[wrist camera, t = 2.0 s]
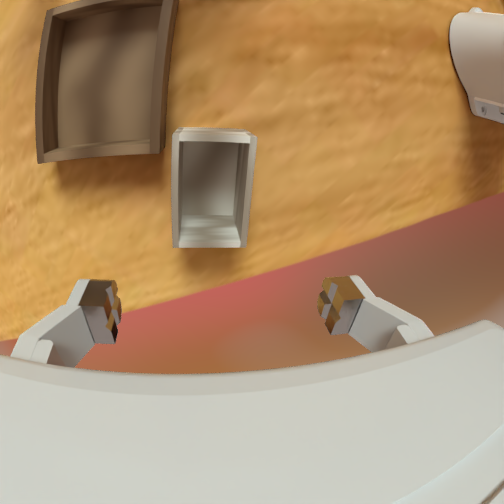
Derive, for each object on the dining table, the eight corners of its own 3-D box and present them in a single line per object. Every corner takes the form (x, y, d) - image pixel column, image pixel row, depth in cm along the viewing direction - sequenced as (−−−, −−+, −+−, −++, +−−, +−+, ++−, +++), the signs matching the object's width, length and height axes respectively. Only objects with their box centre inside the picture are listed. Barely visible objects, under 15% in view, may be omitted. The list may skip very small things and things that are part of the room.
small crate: (244, 129, 24) (257, 137, 19) (237, 218, 28) (246, 247, 23) (178, 127, 23) (172, 134, 18) (177, 217, 27) (172, 247, 22)
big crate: (178, 0, 16) (175, -14, 13) (165, 146, 23) (159, 153, 20) (63, 18, 14) (47, 10, 11) (55, 155, 21) (37, 163, 18)
